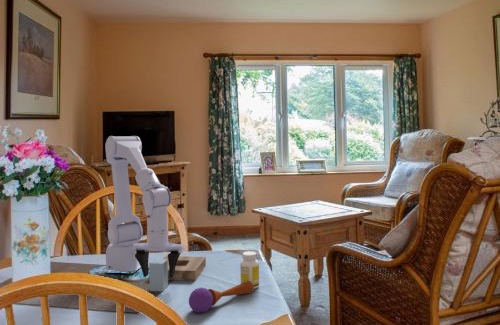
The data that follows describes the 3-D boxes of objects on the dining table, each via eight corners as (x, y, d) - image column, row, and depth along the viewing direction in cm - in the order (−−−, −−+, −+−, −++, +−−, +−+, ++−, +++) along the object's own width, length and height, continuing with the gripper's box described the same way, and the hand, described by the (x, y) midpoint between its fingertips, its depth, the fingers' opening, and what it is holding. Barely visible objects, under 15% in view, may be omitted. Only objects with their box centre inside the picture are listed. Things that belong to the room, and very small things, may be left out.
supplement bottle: (258, 282, 118) (258, 250, 117) (259, 289, 112) (259, 255, 112) (240, 283, 118) (240, 250, 117) (240, 290, 112) (240, 256, 112)
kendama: (258, 281, 108) (200, 297, 94) (254, 301, 109) (196, 320, 95) (243, 272, 113) (186, 286, 99) (240, 291, 113) (182, 308, 99)
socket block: (151, 279, 122) (150, 269, 121) (165, 264, 135) (165, 255, 135) (195, 280, 120) (195, 270, 120) (205, 265, 134) (205, 256, 134)
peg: (149, 290, 112) (149, 263, 112) (154, 285, 116) (154, 259, 116) (163, 291, 112) (162, 263, 111) (167, 286, 116) (167, 259, 115)
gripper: (127, 232, 110) (128, 280, 111) (178, 233, 108) (179, 281, 109) (137, 226, 117) (138, 271, 118) (185, 227, 115) (186, 273, 116)
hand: (158, 276), depth 114 cm, fingers open, 7 cm apart
